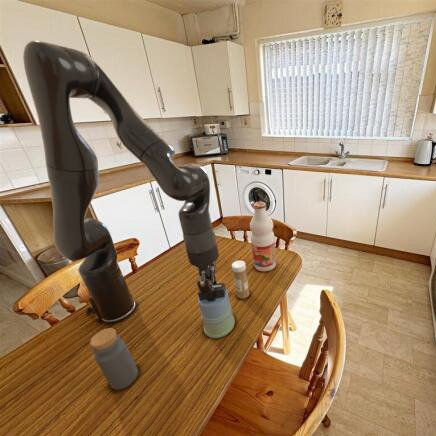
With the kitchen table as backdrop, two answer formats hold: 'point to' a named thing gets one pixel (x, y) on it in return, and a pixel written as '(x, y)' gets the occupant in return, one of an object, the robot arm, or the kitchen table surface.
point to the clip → (218, 290)
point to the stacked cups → (217, 316)
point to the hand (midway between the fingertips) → (212, 294)
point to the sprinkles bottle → (240, 279)
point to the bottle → (114, 358)
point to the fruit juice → (262, 238)
